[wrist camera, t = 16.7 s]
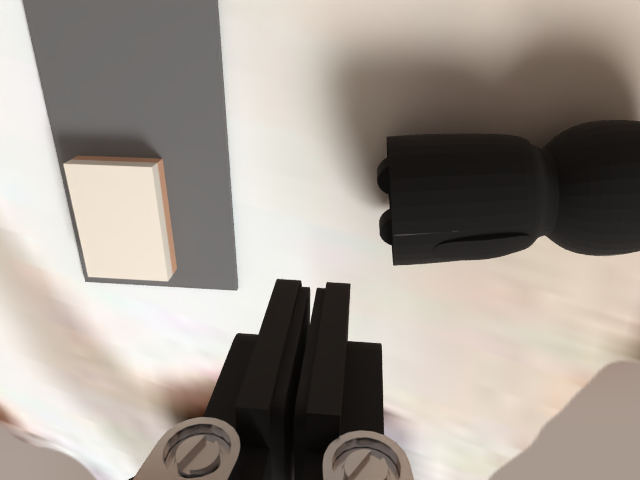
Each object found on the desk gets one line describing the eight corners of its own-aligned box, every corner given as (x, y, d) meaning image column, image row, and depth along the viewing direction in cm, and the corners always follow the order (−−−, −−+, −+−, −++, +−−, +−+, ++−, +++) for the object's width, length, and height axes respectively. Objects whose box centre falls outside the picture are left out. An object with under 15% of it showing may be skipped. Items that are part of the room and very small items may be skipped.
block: (162, 158, 41) (78, 155, 41) (151, 167, 39) (63, 163, 39) (176, 268, 45) (100, 264, 46) (168, 281, 43) (88, 276, 44)
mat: (17, -45, 36) (12, -46, 35) (214, -44, 34) (212, -45, 34) (88, 278, 47) (85, 281, 47) (238, 287, 46) (236, 290, 45)
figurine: (383, 292, 37) (678, 280, 35) (377, 214, 30) (752, 192, 28) (378, 194, 43) (633, 178, 40) (373, 108, 36) (685, 82, 33)
